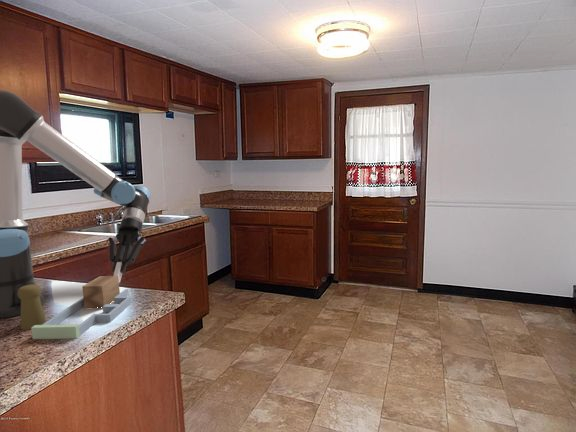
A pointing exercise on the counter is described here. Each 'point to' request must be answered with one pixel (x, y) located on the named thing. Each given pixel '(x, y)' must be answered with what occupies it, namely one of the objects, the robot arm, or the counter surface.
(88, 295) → the walnut block
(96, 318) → the trap lane
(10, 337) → the counter surface
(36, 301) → the cork
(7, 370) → the counter surface
